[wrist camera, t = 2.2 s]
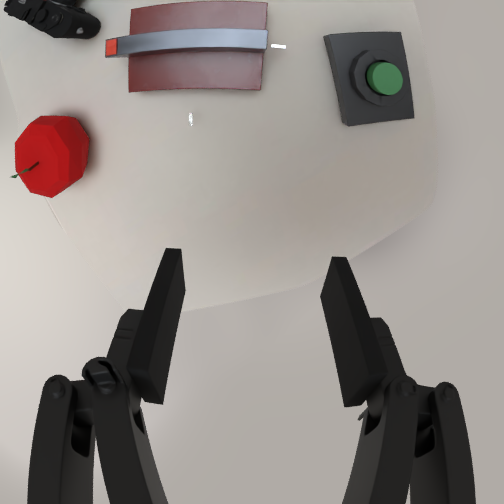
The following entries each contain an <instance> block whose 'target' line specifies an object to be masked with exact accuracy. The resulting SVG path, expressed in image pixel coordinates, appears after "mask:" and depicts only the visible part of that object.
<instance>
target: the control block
mask: <svg viewBox="0 0 504 504" xmlns="http://www.w3.org/2000/svg"><path fill="white" fill-rule="evenodd" d="M324 41H325V44H326V48H327V52H328V56H329V60H330V64H331V68H332V73H333V77H334V82H335V86H336V91H337V96H338V101H339V106H340V111H341V117H342V122H343V123H344V124H345V125H347V126H354V125H361V124H368V123H376V122H384V121H392V120H401V119H412V118H414V109H413V100H412V92H411V84H410V78H409V71H408V65H407V60H406V55H405V50H404V45H403V40H402V36H401V32H356V33H341V34H330V35H326V36H324ZM377 62H385V63H391V64H393V65H395V66H396V67H397V68H398V69H399V71H400V72H401V74H402V78H403V84H402V87H401V89H400V90H399V91H398V92H397V93H395V94H393V95H386V94H382V93H379V92H376V91H375V90H373V89H372V88H371V87H370V85H369V84H368V81H367V71H368V68H369V67H370V66H371V65H372V64H374V63H377Z"/></svg>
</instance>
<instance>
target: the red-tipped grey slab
mask: <svg viewBox="0 0 504 504" xmlns="http://www.w3.org/2000/svg"><path fill="white" fill-rule="evenodd" d="M267 39H268V30H260V29H242V28H196V29H178V30H167V31H157V32H149V33H141V34H135V35H129V36H123V37H117V38H112V39H107V40H106V52H105V57H106V58H112V57H135V56H143V55H152V54H162V53H175V52H195V51H234V52H255V53H264V52H265V50H266V49H267Z"/></svg>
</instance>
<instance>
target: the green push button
mask: <svg viewBox="0 0 504 504" xmlns="http://www.w3.org/2000/svg"><path fill="white" fill-rule="evenodd" d="M367 81H368V84H369V85H370V87H371V88H372V89H373V90H375V91H376V92H379V93H382V94H386V95H393V94H395V93H397V92H398V91H399V90H400V89H401V87H402V84H403V78H402V74H401V72H400V71H399V69H398V68H397V67H396V66H395V65H393V64H391V63H385V62H377V63H374V64H372V65H371V66H370V67H369V68H368V71H367Z"/></svg>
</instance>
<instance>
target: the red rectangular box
mask: <svg viewBox="0 0 504 504" xmlns="http://www.w3.org/2000/svg"><path fill="white" fill-rule="evenodd" d="M267 6H268V3H265V2H250V1H197V2H182V3H171V4H162V5H155V6H148V7H141V8H135V9H131V19H130V35H135V34H141V33H149V32H157V31H167V30H178V29H196V28H242V29H260V30H265V29H266V17H267ZM271 47H273V48H282V49H285V48H286V46H285V45H276V44H271ZM262 65H263V53H255V52H234V51H195V52H175V53H162V54H152V55H143V56H135V57H129V93H130V92H140V91H151V90H166V89H193V88H220V89H247V90H261V78H262ZM192 124H193V113H189V126H192Z"/></svg>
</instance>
